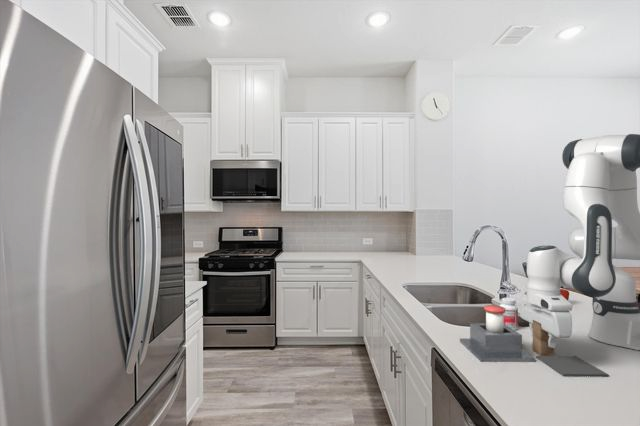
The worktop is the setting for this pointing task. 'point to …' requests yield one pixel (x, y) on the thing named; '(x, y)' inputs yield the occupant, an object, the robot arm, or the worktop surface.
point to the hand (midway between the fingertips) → (543, 342)
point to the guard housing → (496, 345)
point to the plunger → (494, 318)
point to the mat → (571, 366)
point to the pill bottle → (510, 313)
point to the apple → (564, 293)
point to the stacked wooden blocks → (541, 341)
